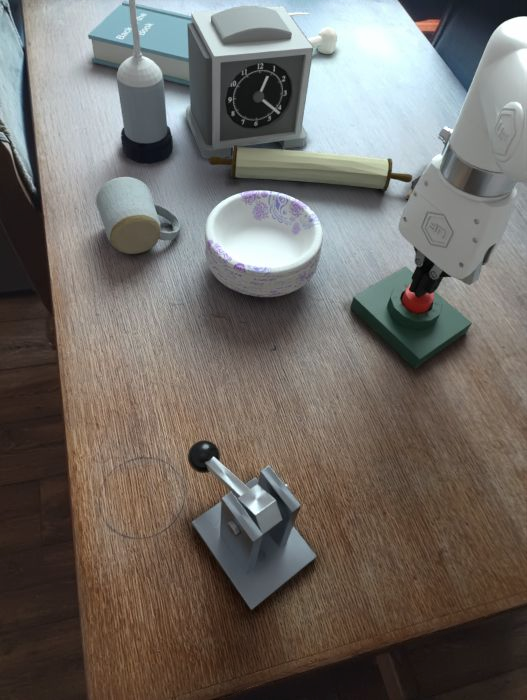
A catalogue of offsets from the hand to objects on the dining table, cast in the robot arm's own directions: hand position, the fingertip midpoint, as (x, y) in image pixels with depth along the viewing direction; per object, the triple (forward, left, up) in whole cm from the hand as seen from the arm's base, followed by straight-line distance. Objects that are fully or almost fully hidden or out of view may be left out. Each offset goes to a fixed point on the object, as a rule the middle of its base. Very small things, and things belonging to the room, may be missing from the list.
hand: (421, 289), depth 67 cm
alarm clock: (+46, -7, -6) cm, 47 cm away
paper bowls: (+18, +11, -6) cm, 22 cm away
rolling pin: (+29, -7, -6) cm, 31 cm away
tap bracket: (-11, +34, -6) cm, 36 cm away
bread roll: (+16, -24, -6) cm, 29 cm away
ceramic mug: (+33, +21, -6) cm, 40 cm away
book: (+74, -8, -6) cm, 75 cm away
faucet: (+61, -31, -6) cm, 69 cm away
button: (0, 0, -3) cm, 3 cm away
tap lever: (-8, +34, 0) cm, 35 cm away
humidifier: (+50, +10, -6) cm, 51 cm away
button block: (0, 0, -6) cm, 6 cm away
